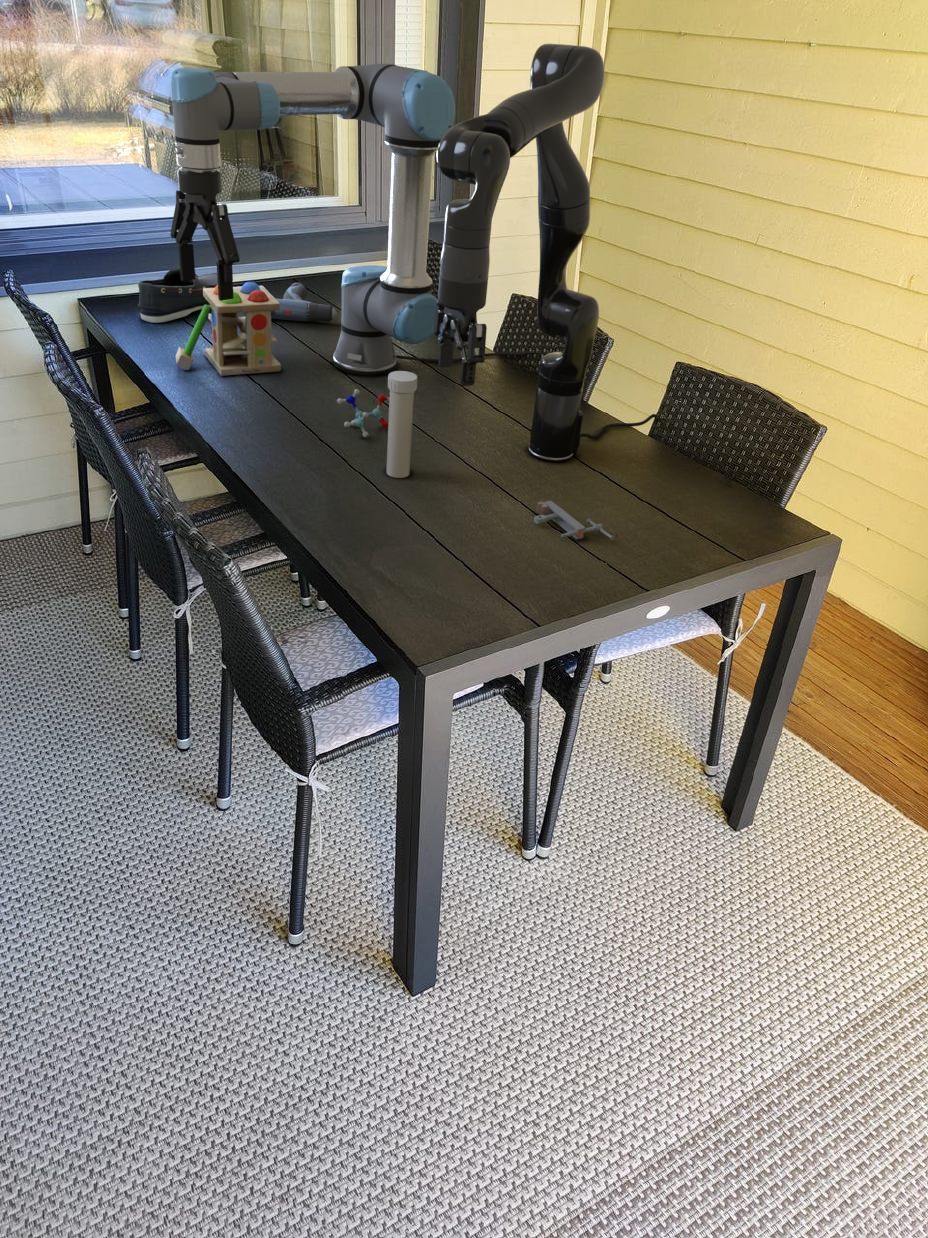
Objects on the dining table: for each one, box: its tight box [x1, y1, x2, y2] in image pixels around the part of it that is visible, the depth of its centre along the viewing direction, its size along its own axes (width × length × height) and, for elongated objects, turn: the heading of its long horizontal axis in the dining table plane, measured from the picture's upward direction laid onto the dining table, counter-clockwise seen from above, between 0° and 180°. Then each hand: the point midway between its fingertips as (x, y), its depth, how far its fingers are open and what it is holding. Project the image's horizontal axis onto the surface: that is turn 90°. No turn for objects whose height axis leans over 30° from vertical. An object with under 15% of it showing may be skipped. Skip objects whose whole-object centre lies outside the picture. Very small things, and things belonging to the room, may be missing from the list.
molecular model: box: [336, 388, 389, 438], centre depth 204 cm, size 12×10×10 cm
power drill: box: [271, 282, 338, 322], centre depth 265 cm, size 5×19×20 cm
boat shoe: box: [137, 266, 218, 324], centre depth 260 cm, size 13×33×10 cm, turn 147°
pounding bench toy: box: [174, 281, 282, 377], centre depth 225 cm, size 23×14×18 cm, turn 116°
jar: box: [385, 390, 415, 479], centre depth 186 cm, size 5×5×19 cm
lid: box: [387, 370, 418, 393], centre depth 181 cm, size 5×5×2 cm
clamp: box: [533, 500, 616, 542], centre depth 177 cm, size 15×2×10 cm
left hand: (206, 289), depth 186 cm, fingers open, 13 cm apart
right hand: (455, 375), depth 160 cm, fingers open, 8 cm apart
